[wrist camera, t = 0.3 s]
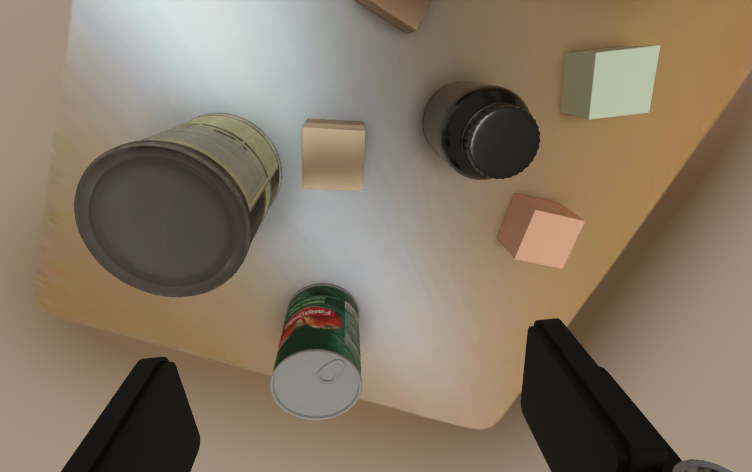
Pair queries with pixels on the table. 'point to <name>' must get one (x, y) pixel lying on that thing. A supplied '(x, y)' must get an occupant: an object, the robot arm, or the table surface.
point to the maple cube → (333, 154)
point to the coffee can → (179, 204)
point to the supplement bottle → (481, 130)
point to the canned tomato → (318, 354)
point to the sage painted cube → (609, 81)
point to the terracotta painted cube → (539, 231)
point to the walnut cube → (399, 12)
